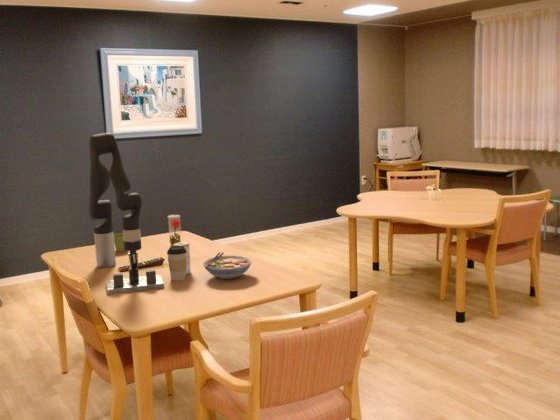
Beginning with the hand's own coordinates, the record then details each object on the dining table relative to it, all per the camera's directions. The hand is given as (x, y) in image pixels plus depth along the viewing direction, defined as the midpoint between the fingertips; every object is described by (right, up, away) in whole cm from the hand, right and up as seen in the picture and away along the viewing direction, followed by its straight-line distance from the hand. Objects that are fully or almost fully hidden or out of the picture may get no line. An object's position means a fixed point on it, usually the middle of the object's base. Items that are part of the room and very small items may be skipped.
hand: (134, 276), depth 261 cm
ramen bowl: (+40, -2, +13) cm, 42 cm away
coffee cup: (+17, -2, +13) cm, 22 cm away
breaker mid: (-1, -2, +5) cm, 6 cm away
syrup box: (+18, -1, +21) cm, 27 cm away
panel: (0, -5, +3) cm, 5 cm away
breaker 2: (+7, -3, +1) cm, 8 cm away
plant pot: (-24, +7, +67) cm, 71 cm away
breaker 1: (-6, -4, -3) cm, 8 cm away
